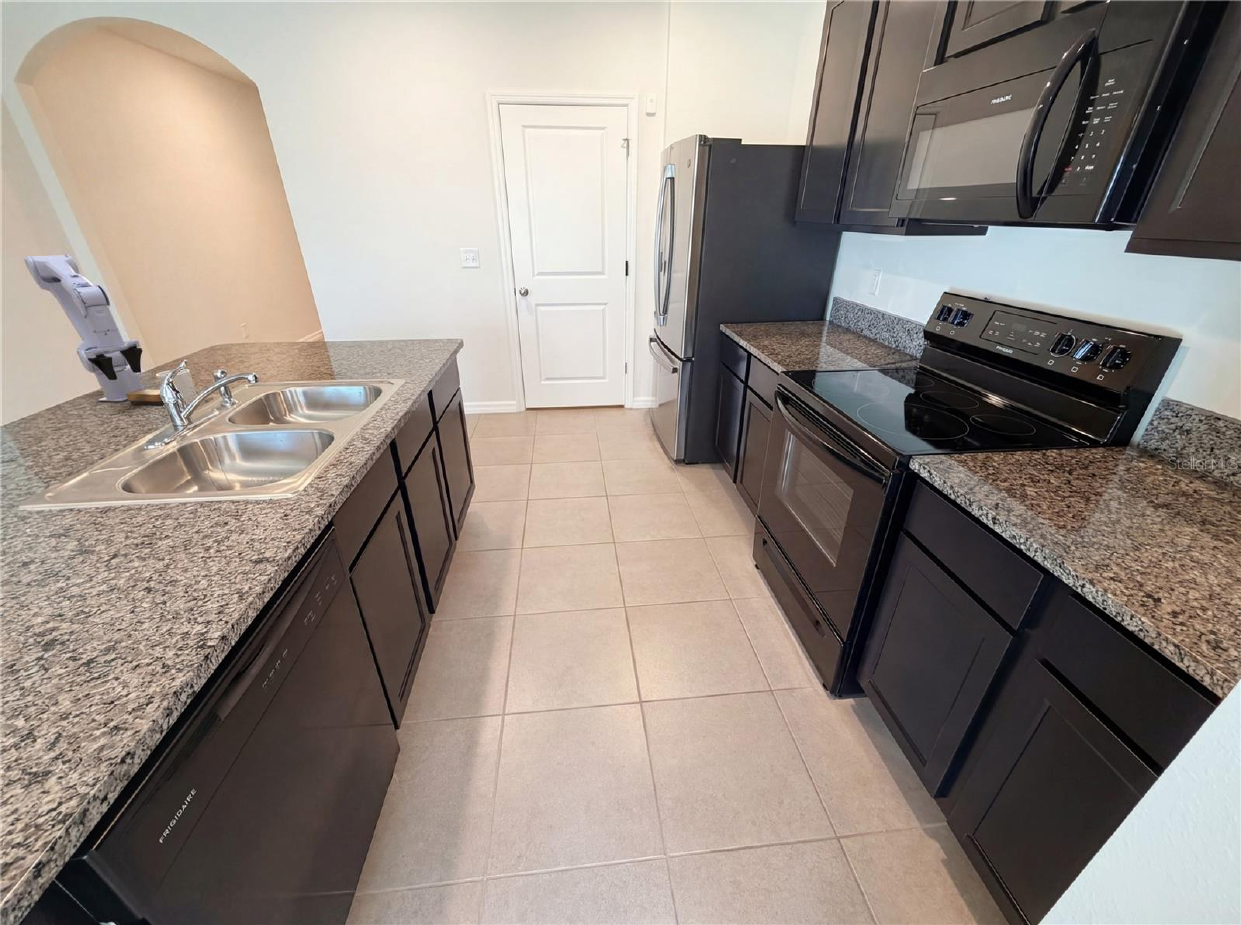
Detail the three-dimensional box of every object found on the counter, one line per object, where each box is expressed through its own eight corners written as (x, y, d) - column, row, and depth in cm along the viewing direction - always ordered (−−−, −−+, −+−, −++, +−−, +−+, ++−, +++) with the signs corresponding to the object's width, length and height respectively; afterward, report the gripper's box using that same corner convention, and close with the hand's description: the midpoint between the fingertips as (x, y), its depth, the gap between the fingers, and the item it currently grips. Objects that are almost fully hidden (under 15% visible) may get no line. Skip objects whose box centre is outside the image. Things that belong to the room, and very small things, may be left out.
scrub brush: (130, 404, 156) (125, 393, 155) (144, 400, 161) (139, 389, 159) (163, 405, 156) (158, 394, 154) (175, 401, 160) (171, 390, 158)
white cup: (162, 406, 155) (149, 375, 150) (189, 398, 162) (177, 368, 157) (181, 409, 153) (168, 377, 148) (207, 400, 159) (195, 370, 155)
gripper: (92, 335, 139) (114, 383, 145) (141, 325, 152) (159, 369, 158) (68, 335, 140) (91, 382, 146) (119, 325, 153) (138, 369, 159)
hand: (125, 376), depth 152 cm, fingers open, 7 cm apart
